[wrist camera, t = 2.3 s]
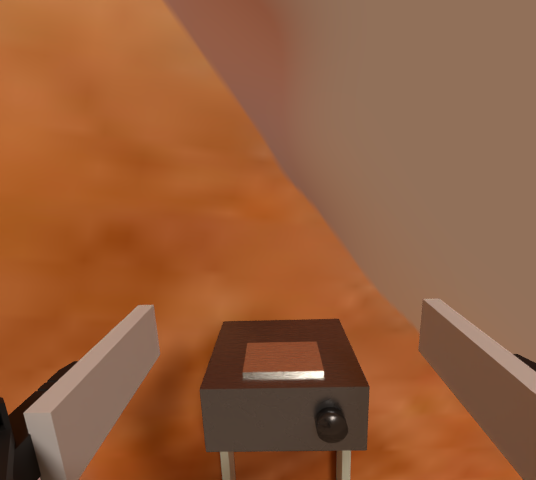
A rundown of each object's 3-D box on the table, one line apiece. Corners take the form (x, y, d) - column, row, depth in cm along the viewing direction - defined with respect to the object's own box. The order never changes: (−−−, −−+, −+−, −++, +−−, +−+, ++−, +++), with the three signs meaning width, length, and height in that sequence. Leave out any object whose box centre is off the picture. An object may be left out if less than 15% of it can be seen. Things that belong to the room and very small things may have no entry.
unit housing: (227, 367, 29) (203, 463, 19) (223, 318, 27) (196, 394, 18) (338, 365, 28) (370, 461, 19) (338, 315, 27) (373, 391, 18)
